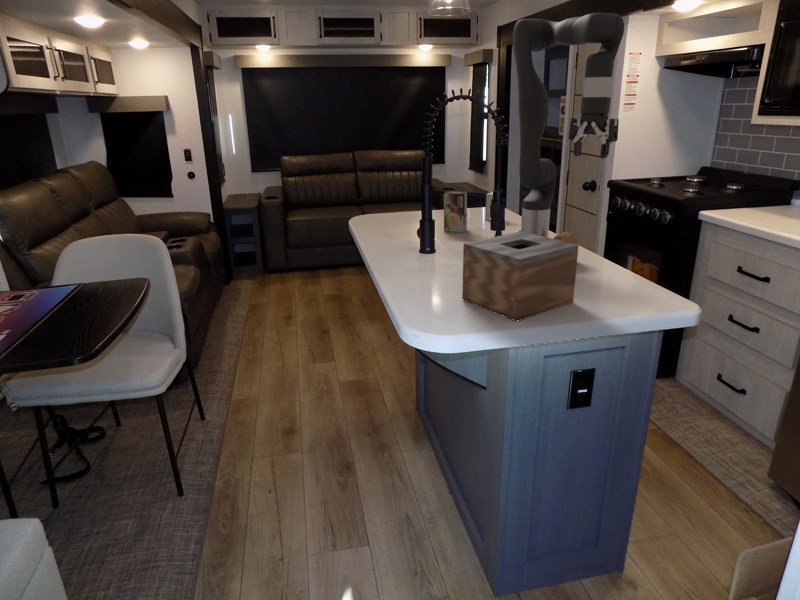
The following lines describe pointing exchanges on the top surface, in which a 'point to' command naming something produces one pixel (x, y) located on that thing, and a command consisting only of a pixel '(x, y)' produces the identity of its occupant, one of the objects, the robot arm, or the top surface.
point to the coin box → (519, 274)
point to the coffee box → (455, 211)
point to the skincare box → (488, 205)
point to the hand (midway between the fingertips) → (590, 157)
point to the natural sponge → (566, 237)
